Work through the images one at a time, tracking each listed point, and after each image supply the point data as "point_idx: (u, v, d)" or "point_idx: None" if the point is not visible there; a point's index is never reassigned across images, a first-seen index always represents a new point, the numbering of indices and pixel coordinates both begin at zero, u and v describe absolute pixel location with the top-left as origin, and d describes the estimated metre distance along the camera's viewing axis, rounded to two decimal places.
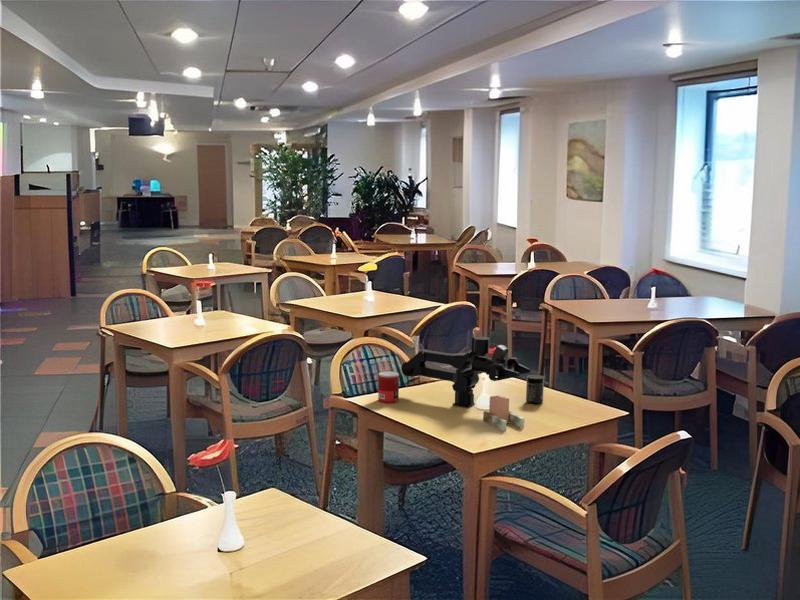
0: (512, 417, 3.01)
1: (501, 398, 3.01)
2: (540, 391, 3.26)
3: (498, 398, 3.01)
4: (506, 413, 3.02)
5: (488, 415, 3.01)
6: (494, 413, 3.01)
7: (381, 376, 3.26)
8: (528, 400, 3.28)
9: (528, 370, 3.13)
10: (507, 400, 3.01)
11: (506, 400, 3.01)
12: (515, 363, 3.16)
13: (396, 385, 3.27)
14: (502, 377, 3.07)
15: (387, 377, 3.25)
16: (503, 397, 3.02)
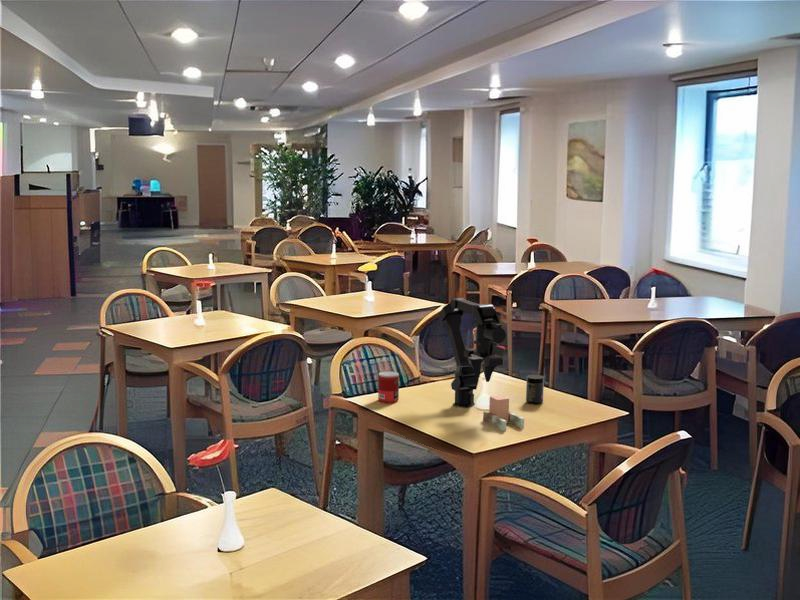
0: (512, 417, 3.01)
1: (501, 398, 3.01)
2: (540, 391, 3.26)
3: (498, 398, 3.01)
4: (506, 413, 3.02)
5: (488, 415, 3.01)
6: (494, 413, 3.01)
7: (381, 376, 3.26)
8: (528, 400, 3.28)
9: (478, 376, 3.15)
10: (507, 400, 3.01)
11: (506, 400, 3.01)
12: (481, 360, 3.15)
13: (396, 385, 3.27)
14: (486, 368, 3.06)
15: (387, 377, 3.25)
16: (503, 397, 3.02)
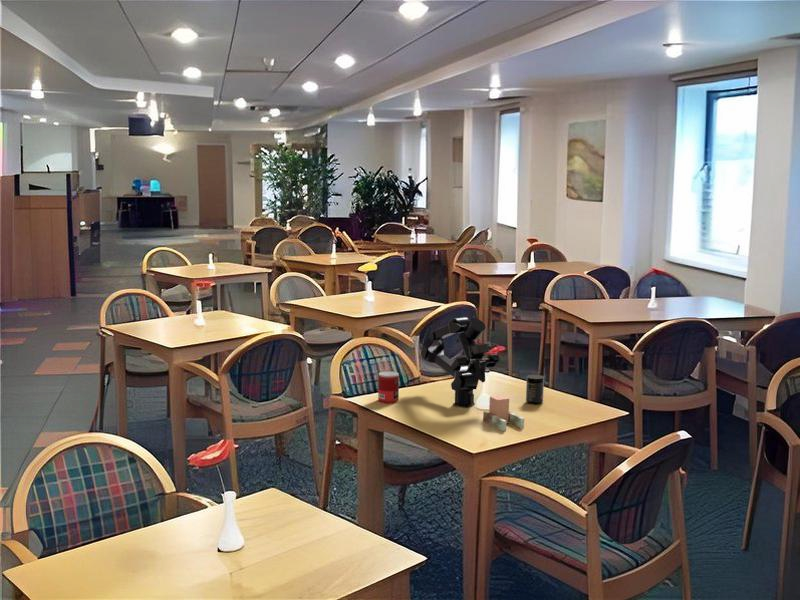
0: (512, 417, 3.01)
1: (501, 398, 3.01)
2: (540, 391, 3.26)
3: (498, 398, 3.01)
4: (506, 413, 3.02)
5: (488, 415, 3.01)
6: (494, 413, 3.01)
7: (381, 376, 3.26)
8: (528, 400, 3.28)
9: None
10: (507, 400, 3.01)
11: (506, 400, 3.01)
12: (481, 364, 3.13)
13: (396, 385, 3.27)
14: (471, 371, 3.14)
15: (387, 377, 3.25)
16: (503, 397, 3.02)
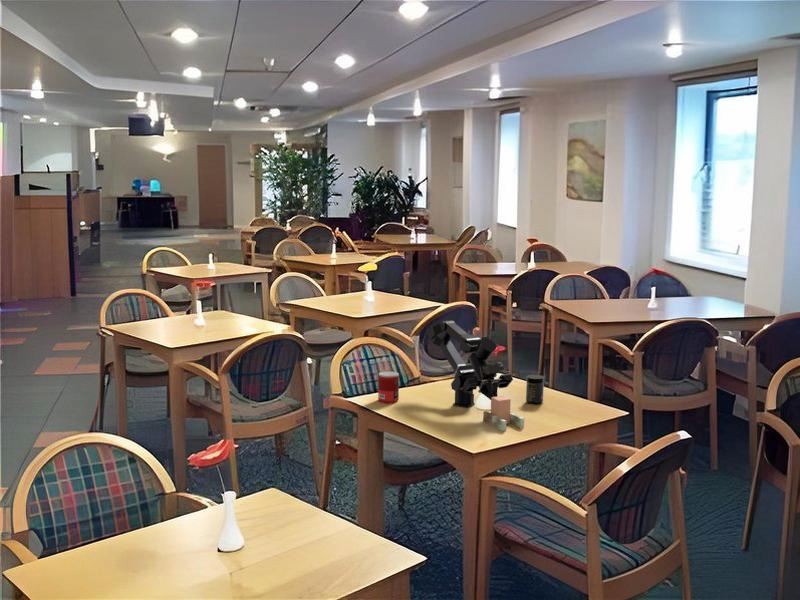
0: (512, 417, 3.01)
1: (502, 399, 3.00)
2: (540, 391, 3.26)
3: (499, 399, 3.00)
4: (508, 414, 3.01)
5: (488, 415, 3.01)
6: (495, 414, 3.00)
7: (381, 376, 3.26)
8: (528, 400, 3.28)
9: None
10: (508, 401, 3.00)
11: (507, 401, 3.00)
12: (493, 385, 3.07)
13: (396, 385, 3.27)
14: (483, 392, 3.08)
15: (387, 377, 3.25)
16: (504, 398, 3.02)
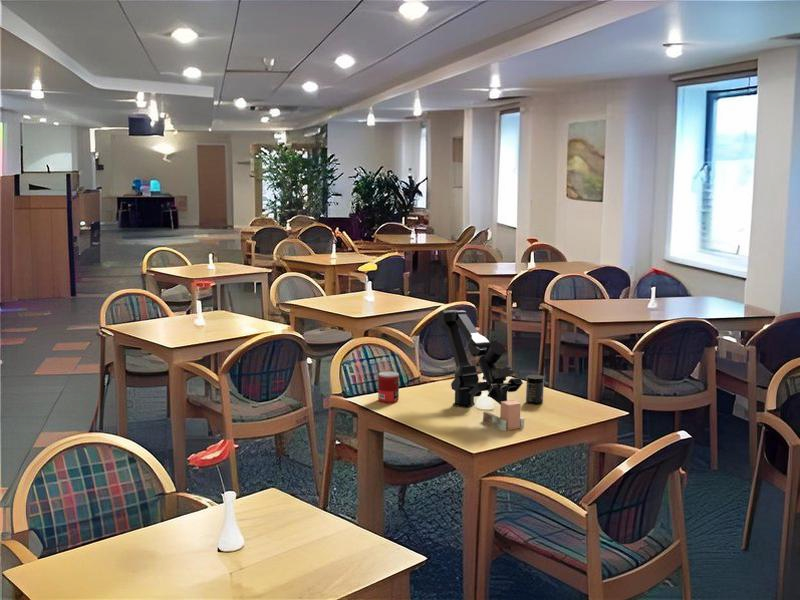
0: None
1: (512, 403, 2.95)
2: (540, 391, 3.26)
3: (509, 403, 2.95)
4: (518, 418, 2.95)
5: (488, 415, 3.01)
6: (505, 418, 2.95)
7: (381, 376, 3.26)
8: (528, 400, 3.28)
9: None
10: (518, 405, 2.95)
11: (517, 405, 2.94)
12: (502, 389, 3.01)
13: (396, 385, 3.27)
14: (493, 396, 3.02)
15: (387, 377, 3.25)
16: (514, 402, 2.96)
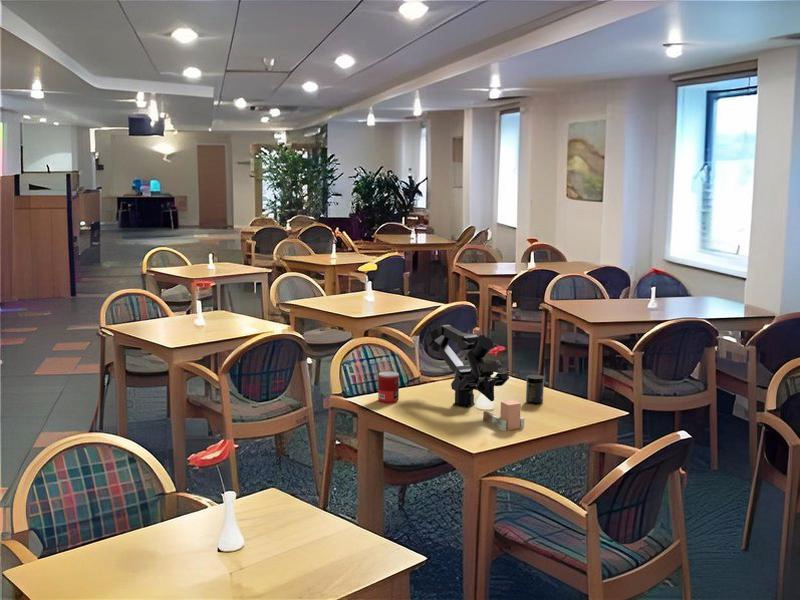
0: None
1: (512, 403, 2.95)
2: (540, 391, 3.26)
3: (509, 403, 2.95)
4: (518, 418, 2.95)
5: (488, 415, 3.01)
6: (505, 418, 2.95)
7: (381, 376, 3.26)
8: (528, 400, 3.28)
9: None
10: (519, 405, 2.95)
11: (518, 405, 2.94)
12: (490, 383, 3.09)
13: (396, 385, 3.27)
14: (480, 390, 3.10)
15: (387, 377, 3.25)
16: (514, 402, 2.96)
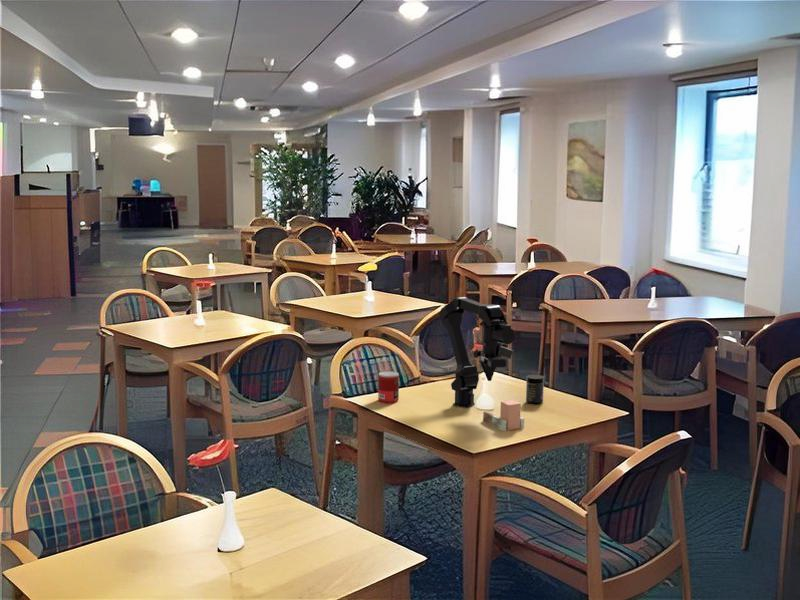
0: None
1: (512, 403, 2.95)
2: (540, 391, 3.26)
3: (509, 403, 2.95)
4: (518, 418, 2.95)
5: (488, 415, 3.01)
6: (505, 418, 2.95)
7: (381, 376, 3.26)
8: (528, 400, 3.28)
9: None
10: (519, 405, 2.95)
11: (518, 405, 2.94)
12: None
13: (396, 385, 3.27)
14: (487, 367, 3.08)
15: (387, 377, 3.25)
16: (514, 402, 2.96)
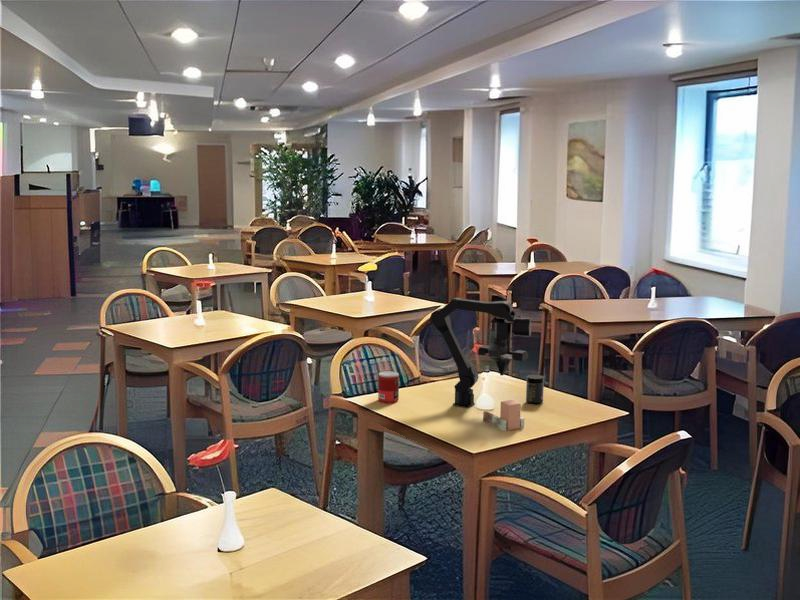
0: None
1: (512, 403, 2.95)
2: (540, 391, 3.26)
3: (509, 403, 2.95)
4: (518, 418, 2.95)
5: (488, 415, 3.01)
6: (505, 418, 2.95)
7: (381, 376, 3.26)
8: (528, 400, 3.28)
9: None
10: (519, 405, 2.95)
11: (518, 405, 2.94)
12: None
13: (396, 385, 3.27)
14: None
15: (387, 377, 3.25)
16: (514, 402, 2.96)
